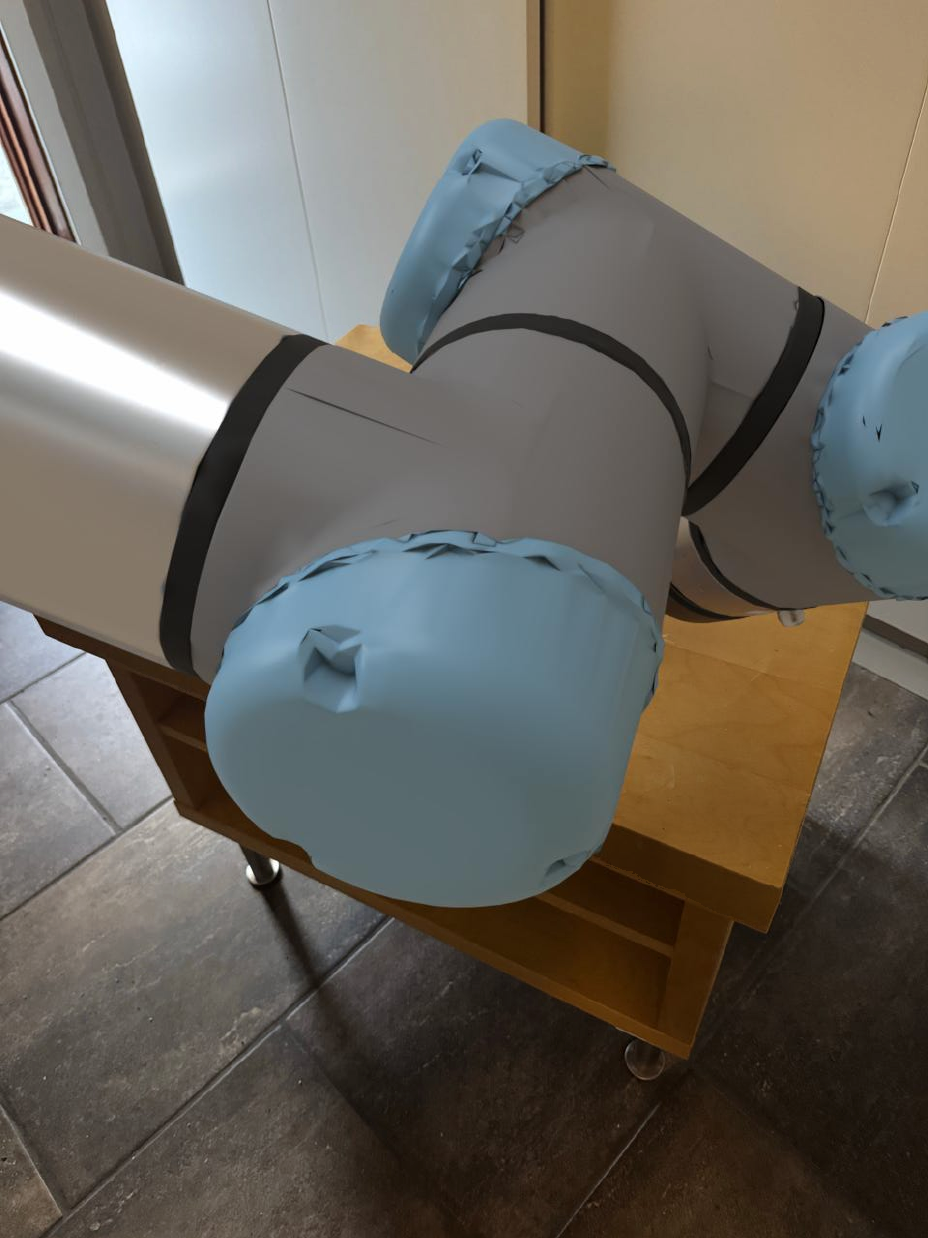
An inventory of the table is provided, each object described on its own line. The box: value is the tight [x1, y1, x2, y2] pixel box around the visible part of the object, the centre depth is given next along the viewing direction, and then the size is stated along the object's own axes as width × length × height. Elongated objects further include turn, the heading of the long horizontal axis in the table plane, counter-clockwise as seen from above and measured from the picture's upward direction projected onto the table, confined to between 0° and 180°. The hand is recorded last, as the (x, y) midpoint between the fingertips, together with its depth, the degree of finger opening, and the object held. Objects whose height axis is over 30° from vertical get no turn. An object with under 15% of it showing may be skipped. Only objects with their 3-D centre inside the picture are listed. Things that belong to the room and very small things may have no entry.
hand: (586, 580), depth 60 cm, fingers open, 13 cm apart
